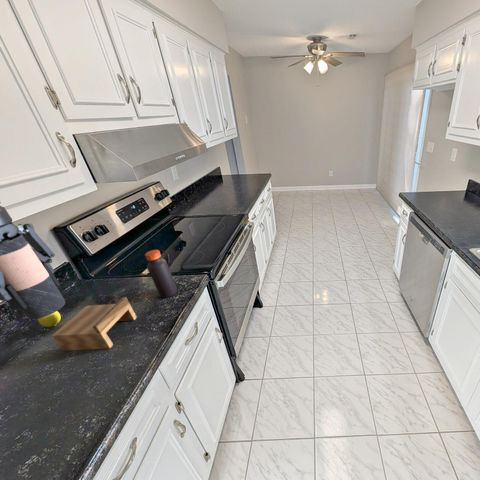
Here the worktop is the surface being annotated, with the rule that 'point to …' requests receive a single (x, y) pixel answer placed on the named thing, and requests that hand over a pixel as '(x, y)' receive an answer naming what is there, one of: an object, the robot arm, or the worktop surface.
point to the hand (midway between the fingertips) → (38, 296)
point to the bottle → (160, 274)
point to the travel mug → (29, 278)
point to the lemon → (50, 319)
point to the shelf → (93, 326)
